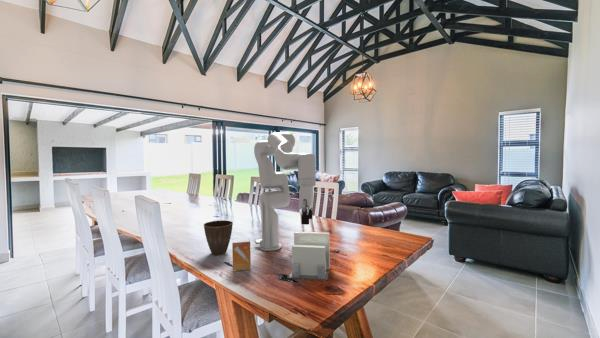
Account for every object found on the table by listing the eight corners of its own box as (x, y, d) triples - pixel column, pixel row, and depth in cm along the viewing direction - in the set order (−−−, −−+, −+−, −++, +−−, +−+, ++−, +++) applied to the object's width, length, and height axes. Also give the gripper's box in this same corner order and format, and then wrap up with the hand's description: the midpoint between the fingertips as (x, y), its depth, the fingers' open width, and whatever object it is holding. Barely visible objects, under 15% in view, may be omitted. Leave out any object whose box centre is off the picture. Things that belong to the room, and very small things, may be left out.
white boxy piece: (289, 278, 117) (288, 240, 117) (295, 265, 131) (294, 231, 130) (327, 280, 114) (326, 241, 114) (329, 267, 128) (329, 232, 128)
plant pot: (237, 249, 157) (237, 220, 156) (226, 258, 142) (225, 227, 141) (212, 248, 159) (212, 220, 159) (199, 257, 145) (198, 226, 144)
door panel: (292, 274, 120) (291, 246, 119) (293, 271, 122) (293, 244, 122) (325, 276, 117) (324, 247, 117) (325, 273, 120) (325, 245, 119)
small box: (232, 271, 125) (232, 242, 125) (232, 266, 132) (232, 238, 131) (251, 269, 127) (250, 241, 127) (250, 264, 133) (249, 237, 133)
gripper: (301, 180, 130) (302, 216, 131) (294, 184, 113) (294, 226, 114) (317, 180, 128) (318, 217, 129) (312, 184, 111) (312, 227, 112)
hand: (307, 221), depth 122 cm, fingers open, 9 cm apart
